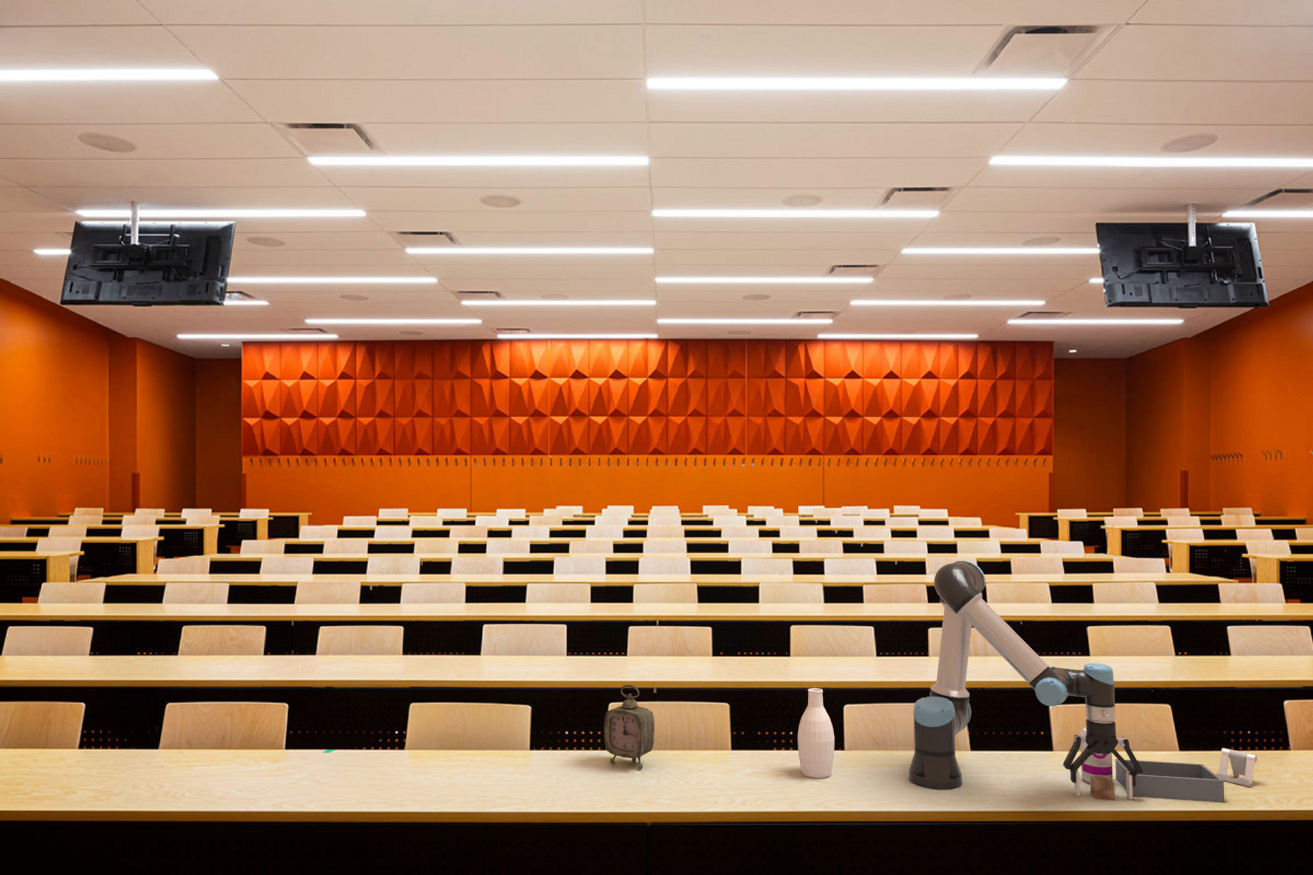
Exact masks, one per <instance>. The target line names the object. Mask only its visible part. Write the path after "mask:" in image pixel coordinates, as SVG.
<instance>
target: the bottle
mask: <svg viewBox="0 0 1313 875" xmlns="http://www.w3.org/2000/svg"><path fill="white" fill-rule="evenodd" d="M807 691H808V694H807V696H808V698H807V700H808V701H807V706H806V708H805V710H804V712H803V714H802V716H801V718H800V721H799V725H798V732H797V750H798V758H799V759H798V760H799V765H800V770H801V773H802V774H803V775H804V776H805V777H807V778H810V777H812V779H826V778H829V777H831V775H832V772H833V768H834V767H833V766H834V759H835V734H834V728H833V723H832V721H831V718H830V716H829V714H828V713H827V710H826V708H825V706H824V697H823V693H824V691H823V689H822V688H817V687H812V688H808V689H807Z"/></svg>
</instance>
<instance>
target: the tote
mask: <svg viewBox="0 0 1313 875" xmlns="http://www.w3.org/2000/svg"><path fill="white" fill-rule="evenodd" d="M1114 760H1115V761H1114V762H1115V779H1116V780H1117V781H1118V782H1119V784H1120V785H1121V786H1122V787H1123V789H1125V790H1126V791H1127V789H1126V772H1128V773H1129V771H1128V770H1127V769H1126V768H1125V766H1124V765H1123V764H1122V763H1121V762H1120V761H1119V760H1118V759H1117V758H1115V759H1114ZM1124 760H1125V761H1126V762H1127V763H1128V764H1129V765H1130V766H1131V768H1135V767H1134V765H1133V764H1132V762H1131V760H1130V759H1124ZM1137 761H1138V763H1139V765H1140V766H1141V768H1142V770H1143V773H1138V774H1137V775H1136V786H1132V792H1133V797H1144V798H1159V799H1174V800H1175V799H1176V800H1185V801H1187V800H1189V801H1203V802H1217V803H1218V802H1220V803H1225V781H1223V780H1222V779H1221V778H1219V777H1218V776H1217V775H1216V773H1215V772H1214V771H1212V770H1211V769H1209V768H1208V766H1207V767H1206V765H1204V764H1202V763H1192V762H1191V763H1189V762H1187V763H1186V762H1173V761H1170V762H1169V761H1157V760H1156V761H1154V760H1140V759H1139V760H1137Z"/></svg>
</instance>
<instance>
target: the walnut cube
mask: <svg viewBox="0 0 1313 875" xmlns="http://www.w3.org/2000/svg"><path fill="white" fill-rule="evenodd" d="M1089 784H1090V786H1089V787H1090V794H1091V795H1092V797H1093V798H1094V799H1095V800H1103V801H1116V790H1115V788H1116V787H1115V781H1114V779H1113V780H1112V779H1111V778H1110V777H1107V776H1091V775H1090V783H1089Z"/></svg>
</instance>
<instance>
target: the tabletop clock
mask: <svg viewBox="0 0 1313 875" xmlns="http://www.w3.org/2000/svg"><path fill="white" fill-rule="evenodd" d="M625 688H633V689H635V690H636V691H637V695H634V696H633V695H632V694H633V693H628V695H627V694H625V693H623V690H624V689H625ZM620 694H621V695H622V696H623V697H624V698H626V699H625V700H624V701H623V702H622V704H621V705H620V706H616V707H615V708H612V709H610V710H607V711H606V713H605V716H604V722H603V723H604V724H603V735H604V736H603V738H604V746H605V749H606V752H608V753H609V754H611V755H613V756H612V757H611V758H610V759H609V763H610V765H611V764H612V765H613V764H614V763H615V759H616V757H620V758H625V759H626V758H627V759H631V763H632V764H633V763H634V764H636V762H638V764H637V769H638V770H642V769H643V764H642V763H641V758H642V757H643V756H644V755H646V754H649V753H650V752H652V751H653V748H654V743H655V730H656V729H655V728H656V727H655V717H654V712H653V711H652V710H650V709H649V708H646V707H643V706H640V705H639V704H638V701H636V700H635V699H637V698H638V697H639V696H640V690H639V689H638V687H637V686H635V685H633V684H625V685H622V687H621V689H620Z"/></svg>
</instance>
